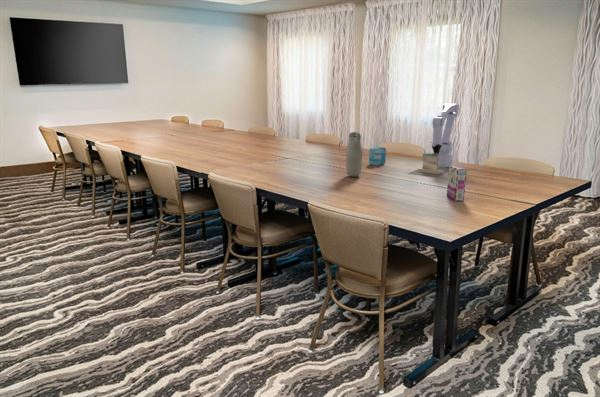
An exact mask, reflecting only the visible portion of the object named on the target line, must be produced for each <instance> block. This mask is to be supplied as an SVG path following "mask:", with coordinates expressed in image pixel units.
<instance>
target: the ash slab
mask: <svg viewBox="0 0 600 397" xmlns="http://www.w3.org/2000/svg"><path fill="white" fill-rule="evenodd" d="M438 162H439V154H438V153H434V152H423V153H422V168H421V169H430V170H439V167H438Z"/></svg>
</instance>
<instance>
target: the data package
mask: <svg viewBox="0 0 600 397" xmlns="http://www.w3.org/2000/svg"><path fill="white" fill-rule="evenodd" d="M386 151H387V149H386V147H382V146H378V147H377V146H376V147H371V148H369V153H368V154H369V156H368V165H370V166H381V165H385V163H386V155H387V154H386V153H387V152H386Z"/></svg>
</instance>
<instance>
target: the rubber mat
mask: <svg viewBox="0 0 600 397" xmlns="http://www.w3.org/2000/svg"><path fill="white" fill-rule="evenodd" d="M447 173H448V171H446V170H439V169H438V170H430V169H422V168H416V169H415V170H412V171H410V172H408V173H407V174H408V175H415V176H422V177H423V176H424V177H429V178H439V177H442V176H443V175H446V174H447Z"/></svg>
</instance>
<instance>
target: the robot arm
mask: <svg viewBox="0 0 600 397" xmlns="http://www.w3.org/2000/svg"><path fill="white" fill-rule="evenodd" d="M459 113H460V104H459V103H448V102H444V103H443V105H442V111H440V112H439V113H438V114H437V115H436V116H434V117H433V118H432V129H433V130H432V141H431V142H430V143H431V148H432V150H433V153H438V154H439V162H438V168H449V166H453V154H452V151H453V142H452V141H451V140H450V138H451V134H452V131H453V130H452V129H453V126H454V122H455V119H456V118H457V117H458V115H459ZM444 125H445V126H444ZM443 128H444V130H443Z"/></svg>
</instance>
